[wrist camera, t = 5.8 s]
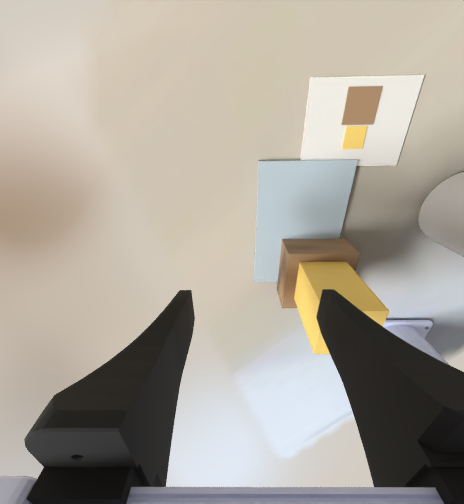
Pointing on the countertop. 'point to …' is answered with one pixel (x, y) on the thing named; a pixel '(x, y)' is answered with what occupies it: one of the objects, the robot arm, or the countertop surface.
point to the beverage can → (445, 214)
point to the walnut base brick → (309, 252)
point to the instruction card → (359, 118)
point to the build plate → (298, 206)
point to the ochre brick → (345, 283)
